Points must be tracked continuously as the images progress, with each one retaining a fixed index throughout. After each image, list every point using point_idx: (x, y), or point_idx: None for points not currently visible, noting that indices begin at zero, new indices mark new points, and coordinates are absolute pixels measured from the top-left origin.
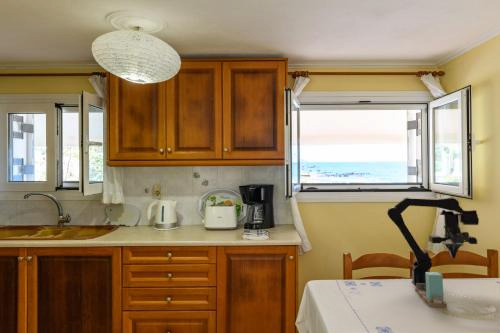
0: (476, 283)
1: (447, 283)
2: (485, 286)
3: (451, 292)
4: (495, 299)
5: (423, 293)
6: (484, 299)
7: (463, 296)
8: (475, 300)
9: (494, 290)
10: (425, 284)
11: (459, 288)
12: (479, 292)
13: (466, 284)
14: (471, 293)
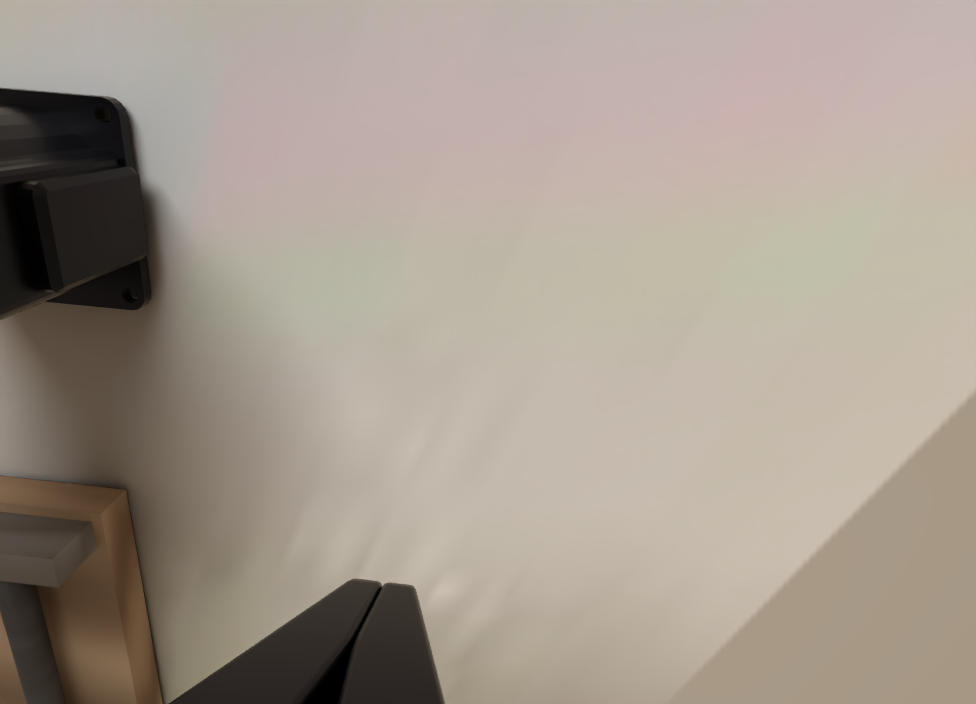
0: (956, 66)
1: (456, 110)
2: (971, 233)
3: (352, 494)
4: (700, 668)
5: (9, 666)
6: (590, 668)
7: (426, 601)
8: (487, 688)
9: (944, 407)
10: (3, 578)
11: (519, 349)
12: (683, 485)
13: (737, 144)
14: (564, 519)
